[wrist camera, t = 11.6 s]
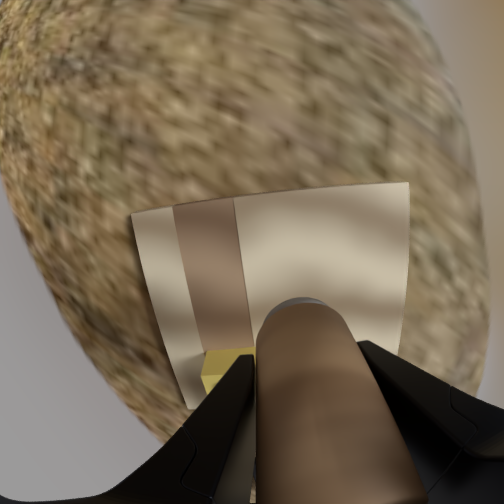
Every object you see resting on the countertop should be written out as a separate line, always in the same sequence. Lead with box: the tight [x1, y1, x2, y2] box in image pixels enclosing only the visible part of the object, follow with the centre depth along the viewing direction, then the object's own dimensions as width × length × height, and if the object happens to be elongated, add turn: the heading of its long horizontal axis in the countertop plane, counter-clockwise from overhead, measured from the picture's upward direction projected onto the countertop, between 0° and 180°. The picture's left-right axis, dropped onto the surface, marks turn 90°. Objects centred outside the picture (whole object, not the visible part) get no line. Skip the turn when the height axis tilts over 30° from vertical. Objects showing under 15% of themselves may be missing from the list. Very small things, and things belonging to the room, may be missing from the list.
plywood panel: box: [131, 181, 410, 409], centre depth 21 cm, size 18×19×1 cm
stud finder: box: [201, 346, 256, 395], centre depth 20 cm, size 6×5×4 cm
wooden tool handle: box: [256, 297, 429, 504], centre depth 6 cm, size 3×3×7 cm
